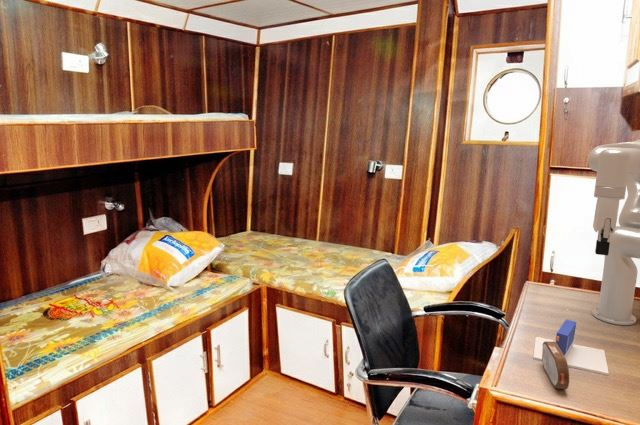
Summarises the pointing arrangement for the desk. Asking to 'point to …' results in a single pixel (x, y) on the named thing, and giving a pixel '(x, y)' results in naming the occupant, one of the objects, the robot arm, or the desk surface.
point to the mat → (578, 357)
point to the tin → (555, 365)
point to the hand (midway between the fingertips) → (601, 254)
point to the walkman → (566, 336)
